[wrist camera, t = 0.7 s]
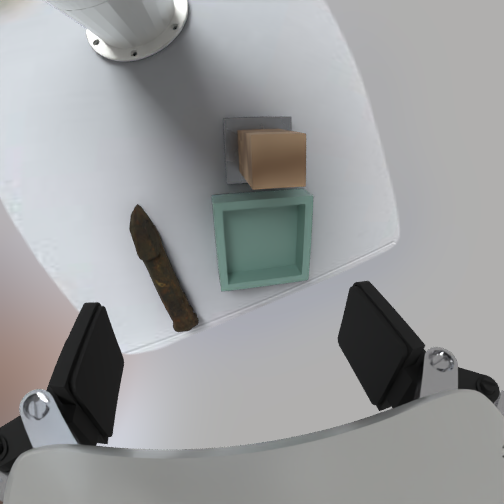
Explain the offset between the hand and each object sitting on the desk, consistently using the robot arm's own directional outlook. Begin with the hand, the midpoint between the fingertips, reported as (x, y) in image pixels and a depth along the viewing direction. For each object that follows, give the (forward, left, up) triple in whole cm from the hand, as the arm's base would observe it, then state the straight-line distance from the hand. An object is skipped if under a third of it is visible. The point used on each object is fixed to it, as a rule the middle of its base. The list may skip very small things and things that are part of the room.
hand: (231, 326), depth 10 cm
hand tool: (+12, -8, -27) cm, 31 cm away
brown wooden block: (-3, +6, -26) cm, 27 cm away
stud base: (-3, +6, -27) cm, 28 cm away
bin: (+9, +6, -27) cm, 29 cm away
